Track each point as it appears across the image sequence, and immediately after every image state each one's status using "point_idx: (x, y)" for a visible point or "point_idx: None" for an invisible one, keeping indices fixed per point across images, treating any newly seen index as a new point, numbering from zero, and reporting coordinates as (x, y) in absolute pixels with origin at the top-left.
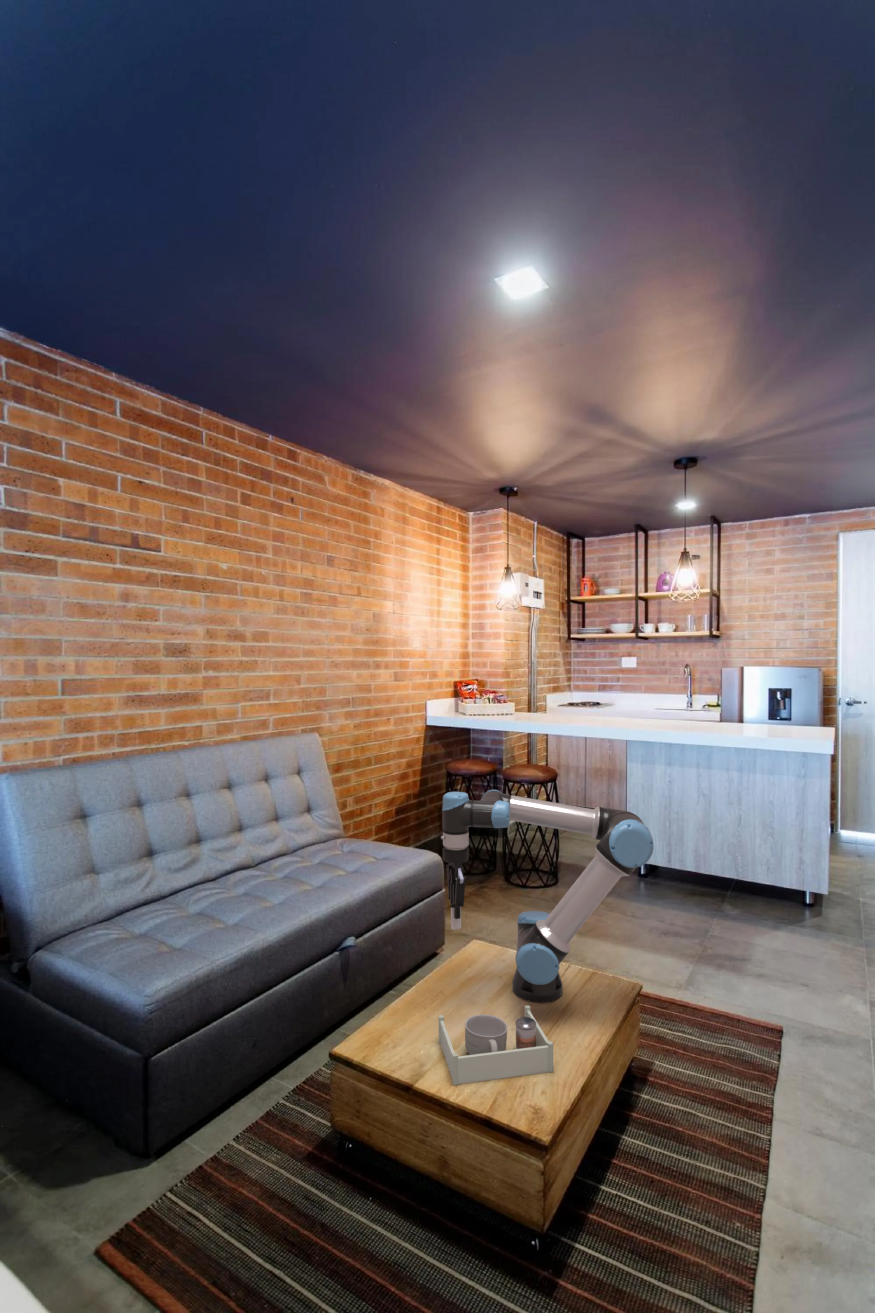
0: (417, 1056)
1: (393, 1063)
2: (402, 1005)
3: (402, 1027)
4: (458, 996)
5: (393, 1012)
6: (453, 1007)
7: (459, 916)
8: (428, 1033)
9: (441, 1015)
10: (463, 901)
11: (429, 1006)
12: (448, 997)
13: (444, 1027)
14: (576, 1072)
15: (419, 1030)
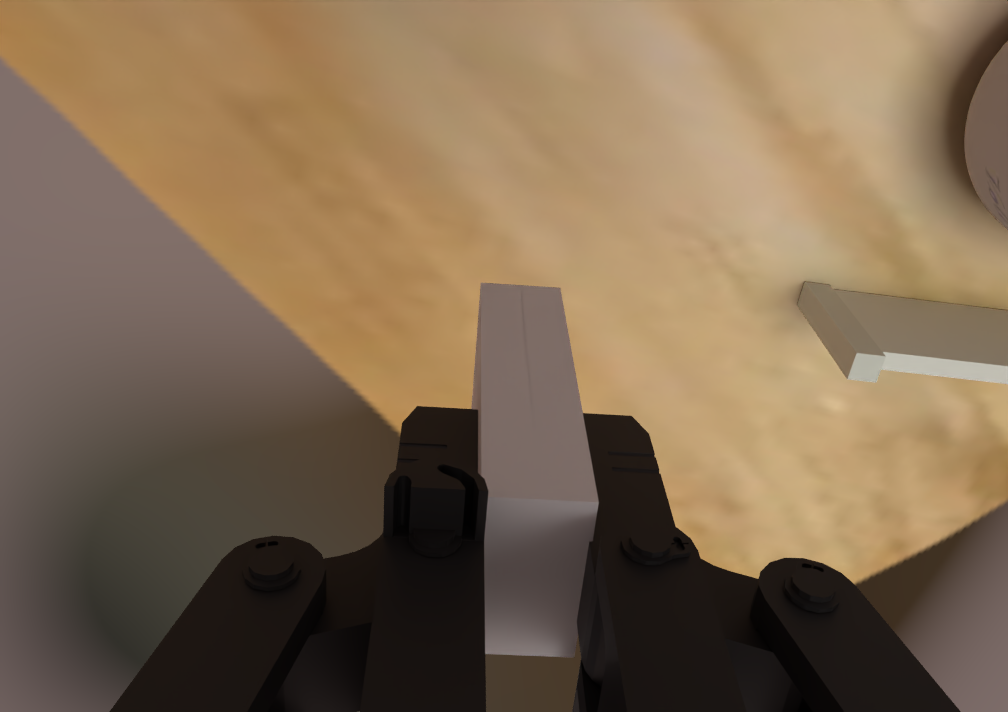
0: (858, 432)
1: (849, 534)
2: (358, 387)
3: None
4: (344, 9)
5: None
6: (480, 99)
7: (651, 455)
8: (696, 332)
9: (858, 364)
10: (929, 687)
11: (417, 245)
12: (339, 87)
13: (951, 367)
14: None
15: (647, 367)
